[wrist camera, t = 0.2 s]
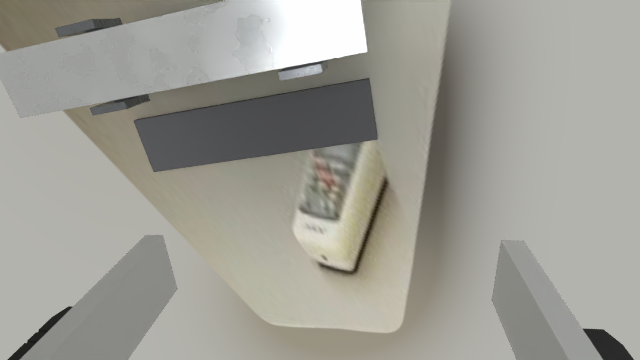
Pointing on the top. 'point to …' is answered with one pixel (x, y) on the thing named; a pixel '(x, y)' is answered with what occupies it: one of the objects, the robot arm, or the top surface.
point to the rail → (180, 51)
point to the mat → (260, 126)
